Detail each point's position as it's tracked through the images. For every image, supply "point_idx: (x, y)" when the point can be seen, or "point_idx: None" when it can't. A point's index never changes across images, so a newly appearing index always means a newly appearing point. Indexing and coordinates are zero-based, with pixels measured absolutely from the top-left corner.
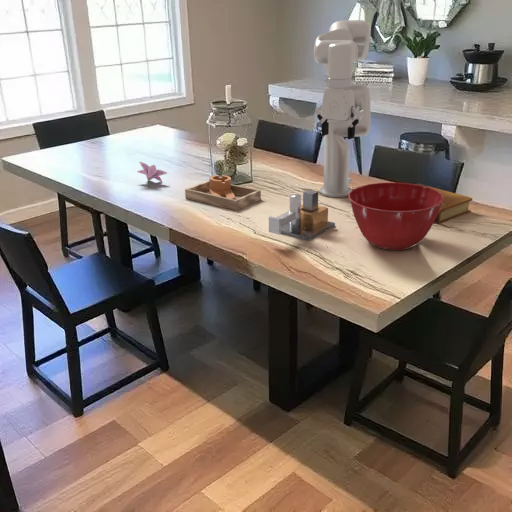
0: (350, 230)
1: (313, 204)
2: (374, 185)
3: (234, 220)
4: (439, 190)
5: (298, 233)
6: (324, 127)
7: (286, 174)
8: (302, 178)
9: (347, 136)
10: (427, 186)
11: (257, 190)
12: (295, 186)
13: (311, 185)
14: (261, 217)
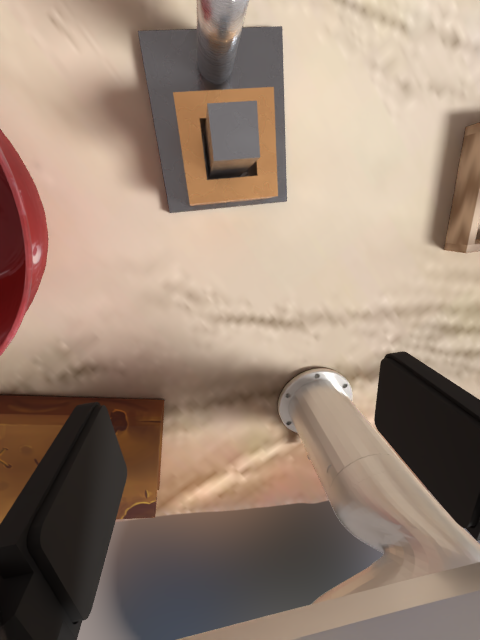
0: (113, 210)
1: (207, 131)
2: (19, 309)
3: (431, 40)
4: None
5: (190, 44)
6: (449, 417)
7: None
8: None
9: (92, 419)
10: (125, 516)
11: (473, 246)
12: None
13: None
14: (375, 125)
